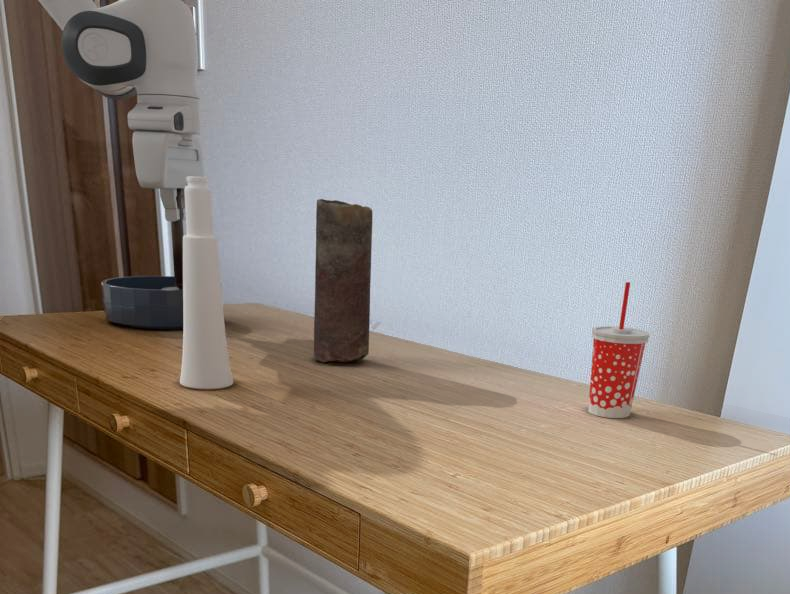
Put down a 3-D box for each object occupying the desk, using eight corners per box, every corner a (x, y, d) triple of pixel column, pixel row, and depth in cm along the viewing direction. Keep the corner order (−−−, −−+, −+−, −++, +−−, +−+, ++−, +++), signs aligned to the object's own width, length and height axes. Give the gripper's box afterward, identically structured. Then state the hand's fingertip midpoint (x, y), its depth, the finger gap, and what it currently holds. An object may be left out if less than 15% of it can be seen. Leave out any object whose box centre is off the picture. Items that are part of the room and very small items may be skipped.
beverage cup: (602, 403, 97) (620, 278, 91) (647, 414, 93) (669, 284, 87) (569, 410, 93) (586, 280, 87) (616, 423, 89) (636, 287, 83)
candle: (335, 352, 117) (338, 199, 109) (379, 360, 113) (385, 202, 105) (302, 360, 111) (302, 198, 103) (347, 369, 107) (351, 202, 99)
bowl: (85, 326, 126) (81, 285, 124) (131, 309, 143) (128, 273, 140) (203, 334, 125) (201, 293, 123) (235, 316, 142) (234, 279, 139)
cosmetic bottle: (191, 391, 92) (179, 176, 84) (172, 380, 97) (159, 174, 88) (241, 387, 95) (235, 178, 87) (221, 376, 100) (213, 177, 91)
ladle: (157, 310, 130) (147, 179, 122) (170, 305, 135) (161, 179, 128) (194, 312, 130) (187, 181, 122) (206, 307, 135) (199, 181, 128)
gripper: (172, 123, 131) (178, 217, 137) (121, 113, 113) (130, 222, 118) (212, 125, 131) (216, 219, 137) (167, 115, 112) (174, 224, 118)
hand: (176, 220), depth 127 cm, fingers closed on ladle
